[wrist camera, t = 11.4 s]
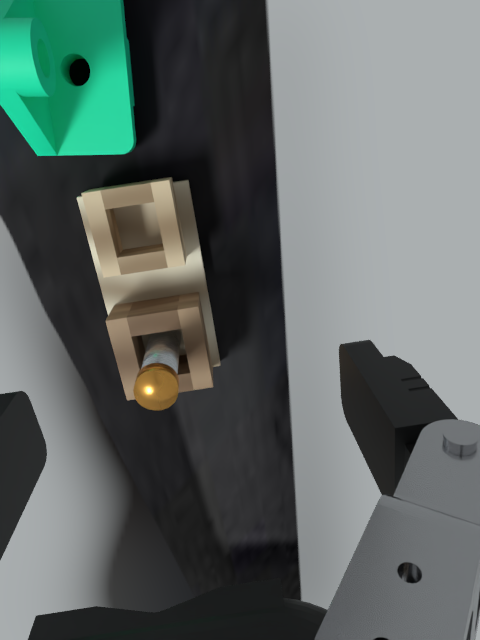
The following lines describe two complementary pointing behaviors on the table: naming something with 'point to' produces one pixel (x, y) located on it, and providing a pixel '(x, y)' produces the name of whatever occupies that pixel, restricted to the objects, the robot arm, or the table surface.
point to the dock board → (151, 275)
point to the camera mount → (67, 75)
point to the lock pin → (159, 371)
